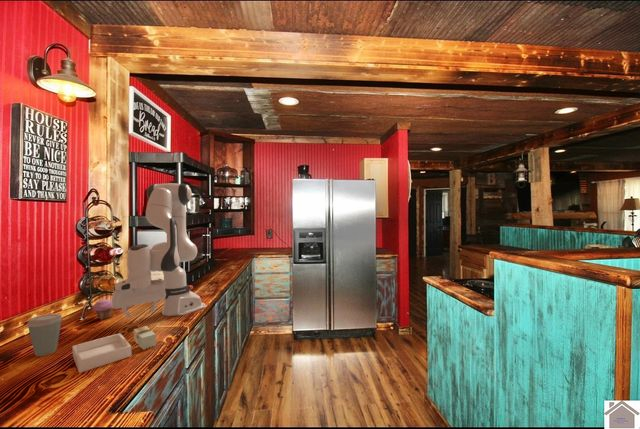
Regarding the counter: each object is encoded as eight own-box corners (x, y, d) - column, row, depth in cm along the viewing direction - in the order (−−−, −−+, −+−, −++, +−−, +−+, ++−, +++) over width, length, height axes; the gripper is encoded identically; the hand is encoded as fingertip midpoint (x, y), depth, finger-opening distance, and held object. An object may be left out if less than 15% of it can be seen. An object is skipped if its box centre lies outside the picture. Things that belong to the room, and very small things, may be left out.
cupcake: (98, 322, 153) (97, 303, 153) (90, 319, 157) (89, 300, 157) (117, 316, 160) (116, 298, 160) (109, 314, 165) (108, 296, 165)
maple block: (146, 336, 134) (146, 325, 133) (150, 340, 130) (149, 328, 130) (134, 340, 130) (133, 329, 130) (137, 344, 127) (136, 332, 126)
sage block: (152, 342, 128) (151, 330, 128) (156, 345, 124) (155, 334, 124) (139, 346, 124) (138, 334, 124) (142, 350, 121) (142, 338, 121)
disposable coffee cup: (46, 346, 126) (44, 311, 126) (71, 346, 126) (69, 311, 125) (20, 359, 116) (18, 321, 115) (47, 359, 115) (45, 320, 115)
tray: (120, 342, 129) (120, 333, 128) (131, 356, 116) (131, 345, 116) (72, 355, 117) (72, 345, 117) (79, 372, 105) (78, 361, 104)
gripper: (162, 277, 139) (163, 306, 139) (110, 285, 124) (111, 318, 124) (167, 279, 134) (168, 309, 134) (113, 287, 120) (114, 321, 120)
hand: (140, 313), depth 129 cm, fingers open, 8 cm apart
